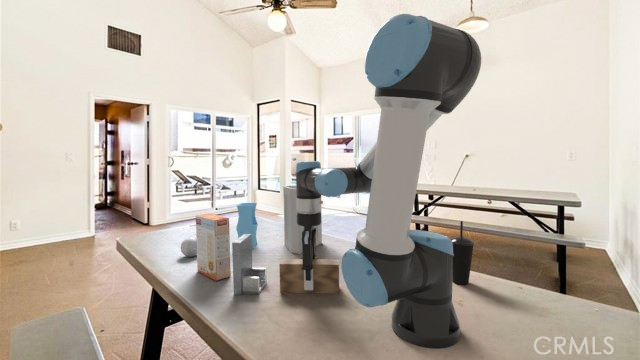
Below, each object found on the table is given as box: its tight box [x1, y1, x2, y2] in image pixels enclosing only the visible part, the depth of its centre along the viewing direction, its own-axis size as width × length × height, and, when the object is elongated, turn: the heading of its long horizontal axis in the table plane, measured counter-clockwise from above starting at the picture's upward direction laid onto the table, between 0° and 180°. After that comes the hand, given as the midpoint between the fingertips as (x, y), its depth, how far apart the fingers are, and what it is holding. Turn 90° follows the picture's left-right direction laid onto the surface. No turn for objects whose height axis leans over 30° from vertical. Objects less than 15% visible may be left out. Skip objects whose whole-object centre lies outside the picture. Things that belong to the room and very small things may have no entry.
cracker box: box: [195, 213, 232, 282], centre depth 103 cm, size 14×6×21 cm, turn 47°
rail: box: [279, 258, 340, 295], centre depth 90 cm, size 18×4×9 cm, turn 86°
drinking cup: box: [449, 220, 476, 286], centre depth 94 cm, size 8×8×20 cm
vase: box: [236, 202, 258, 249], centre depth 137 cm, size 8×8×20 cm
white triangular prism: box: [282, 185, 323, 255], centre depth 136 cm, size 19×15×28 cm
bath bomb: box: [180, 237, 197, 258], centre depth 124 cm, size 8×8×8 cm
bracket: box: [231, 234, 268, 296], centre depth 91 cm, size 10×7×16 cm
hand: (310, 285), depth 90 cm, fingers closed on rail, 5 cm apart
